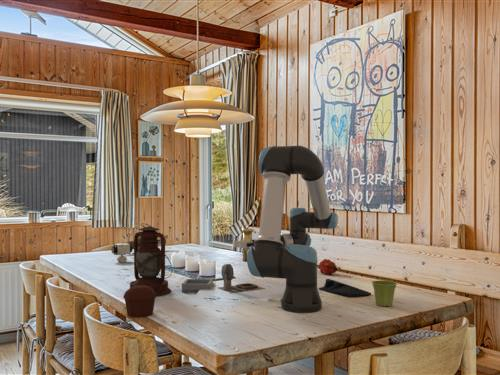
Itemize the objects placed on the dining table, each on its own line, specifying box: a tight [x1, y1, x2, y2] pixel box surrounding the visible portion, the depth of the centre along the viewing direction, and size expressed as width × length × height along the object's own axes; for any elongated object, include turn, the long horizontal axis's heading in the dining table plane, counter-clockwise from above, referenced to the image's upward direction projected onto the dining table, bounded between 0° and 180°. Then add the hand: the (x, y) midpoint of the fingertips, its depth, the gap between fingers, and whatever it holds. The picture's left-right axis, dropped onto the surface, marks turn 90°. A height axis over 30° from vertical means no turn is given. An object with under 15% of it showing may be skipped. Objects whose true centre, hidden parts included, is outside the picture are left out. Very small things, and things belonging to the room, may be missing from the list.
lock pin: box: [241, 228, 255, 263], centre depth 214 cm, size 5×5×14 cm
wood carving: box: [123, 234, 169, 250], centre depth 341 cm, size 9×35×11 cm, turn 132°
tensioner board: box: [217, 263, 266, 294], centre depth 212 cm, size 13×17×12 cm
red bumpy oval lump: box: [317, 258, 339, 276], centre depth 254 cm, size 8×8×12 cm
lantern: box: [129, 222, 173, 297], centre depth 210 cm, size 19×19×30 cm
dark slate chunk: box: [318, 278, 372, 298], centre depth 211 cm, size 15×22×5 cm
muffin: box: [122, 285, 157, 319], centre depth 174 cm, size 12×11×10 cm
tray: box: [181, 278, 214, 293], centre depth 217 cm, size 12×12×4 cm
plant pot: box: [371, 279, 398, 307], centre depth 188 cm, size 9×9×9 cm
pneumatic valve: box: [110, 241, 134, 263], centre depth 296 cm, size 6×12×12 cm, turn 125°
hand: (236, 244), depth 211 cm, fingers closed on lock pin, 4 cm apart
